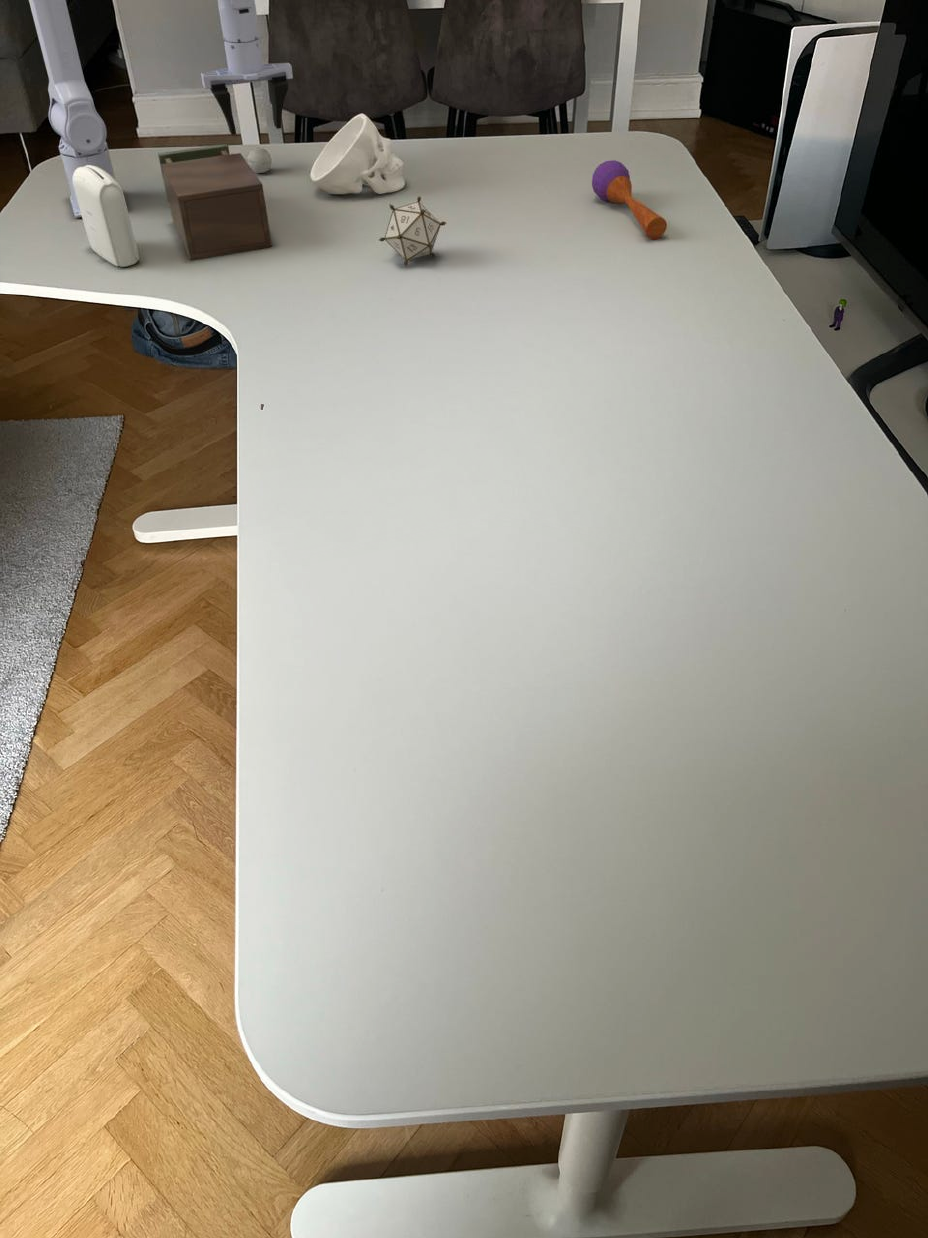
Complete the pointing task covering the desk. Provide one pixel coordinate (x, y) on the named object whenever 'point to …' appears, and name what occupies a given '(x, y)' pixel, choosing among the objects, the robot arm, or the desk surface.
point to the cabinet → (217, 205)
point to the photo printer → (105, 215)
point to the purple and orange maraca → (625, 196)
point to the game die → (412, 231)
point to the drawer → (192, 155)
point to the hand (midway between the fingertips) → (255, 129)
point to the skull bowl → (358, 161)
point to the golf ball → (259, 160)
